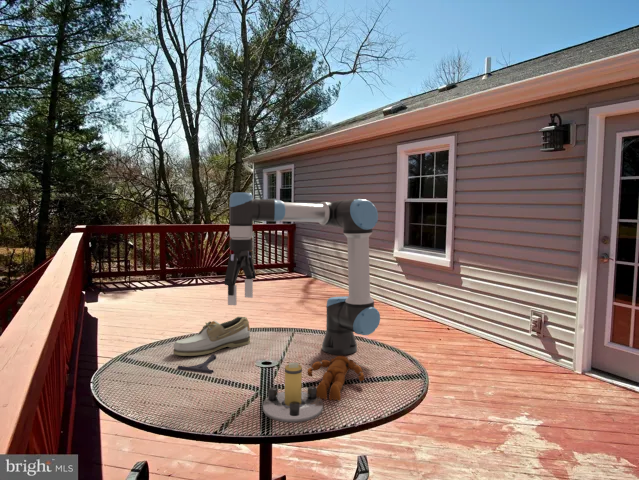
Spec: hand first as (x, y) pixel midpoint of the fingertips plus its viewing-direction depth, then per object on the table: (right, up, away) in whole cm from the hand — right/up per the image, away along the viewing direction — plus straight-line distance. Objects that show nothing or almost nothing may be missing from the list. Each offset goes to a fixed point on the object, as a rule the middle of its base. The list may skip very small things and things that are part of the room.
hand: (240, 301), depth 145 cm
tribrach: (+19, -30, -16) cm, 39 cm away
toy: (+33, -29, +4) cm, 44 cm away
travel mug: (+19, -28, -16) cm, 38 cm away
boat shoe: (-19, -27, +40) cm, 52 cm away
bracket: (-17, -28, +20) cm, 39 cm away
